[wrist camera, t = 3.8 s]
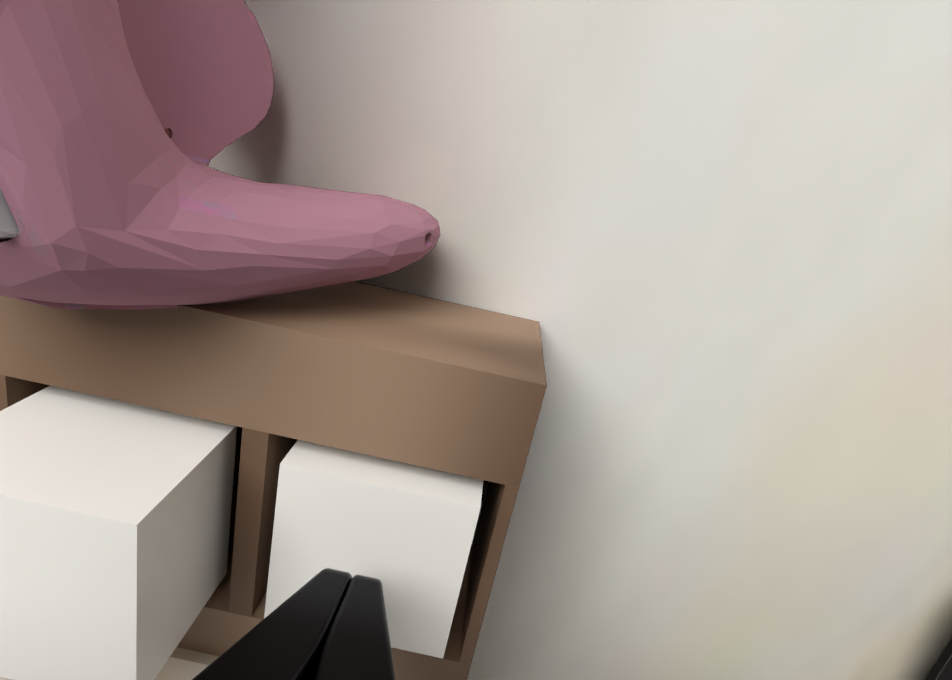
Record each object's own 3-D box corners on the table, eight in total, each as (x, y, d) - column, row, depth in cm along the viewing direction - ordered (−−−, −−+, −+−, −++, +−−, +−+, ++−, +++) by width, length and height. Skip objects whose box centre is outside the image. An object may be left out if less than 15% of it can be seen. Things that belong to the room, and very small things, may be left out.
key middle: (236, 425, 9) (136, 524, 7) (226, 573, 10) (135, 706, 8) (52, 384, 9) (-115, 470, 7) (59, 537, 10) (-82, 658, 8)
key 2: (488, 427, 11) (480, 507, 8) (458, 554, 12) (443, 658, 9) (332, 393, 11) (280, 463, 8) (315, 523, 12) (264, 619, 9)
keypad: (539, 321, 11) (547, 393, 8) (437, 715, 14) (415, 875, 11) (-84, 185, 11) (-333, 201, 8) (-31, 613, 14) (-185, 745, 11)
